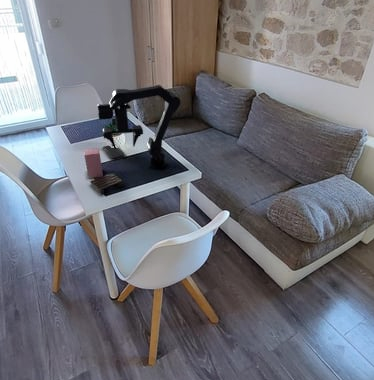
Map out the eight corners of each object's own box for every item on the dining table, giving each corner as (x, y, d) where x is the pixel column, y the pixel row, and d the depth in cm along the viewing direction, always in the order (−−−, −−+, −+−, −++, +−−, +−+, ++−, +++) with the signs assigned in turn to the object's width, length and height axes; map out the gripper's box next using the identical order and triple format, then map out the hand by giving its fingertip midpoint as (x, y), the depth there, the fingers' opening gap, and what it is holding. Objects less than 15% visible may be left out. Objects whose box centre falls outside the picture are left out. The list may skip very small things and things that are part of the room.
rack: (112, 177, 155) (112, 172, 153) (123, 186, 148) (122, 180, 147) (90, 186, 148) (89, 180, 146) (100, 195, 142) (99, 190, 140)
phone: (110, 157, 169) (102, 146, 180) (111, 159, 170) (102, 148, 180) (124, 154, 173) (115, 143, 183) (124, 156, 173) (115, 145, 184)
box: (102, 170, 160) (98, 147, 153) (103, 176, 155) (99, 153, 148) (88, 172, 158) (84, 149, 151) (88, 178, 154) (84, 155, 146)
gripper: (138, 110, 154) (140, 138, 163) (99, 113, 149) (103, 142, 158) (142, 118, 145) (144, 148, 154) (101, 121, 140) (105, 152, 149)
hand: (124, 147), depth 154 cm, fingers open, 9 cm apart
